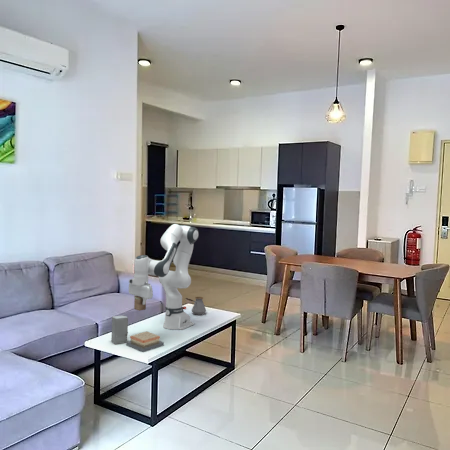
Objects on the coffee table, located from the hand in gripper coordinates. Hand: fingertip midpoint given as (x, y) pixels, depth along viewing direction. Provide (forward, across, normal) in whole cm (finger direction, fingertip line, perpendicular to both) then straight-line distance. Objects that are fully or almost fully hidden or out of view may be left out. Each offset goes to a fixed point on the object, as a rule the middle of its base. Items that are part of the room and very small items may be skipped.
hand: (140, 303), depth 259 cm
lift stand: (+24, -9, +2) cm, 25 cm away
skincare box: (+24, +7, +10) cm, 27 cm away
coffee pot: (+23, +19, -67) cm, 74 cm away
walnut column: (+4, 0, 0) cm, 4 cm away
